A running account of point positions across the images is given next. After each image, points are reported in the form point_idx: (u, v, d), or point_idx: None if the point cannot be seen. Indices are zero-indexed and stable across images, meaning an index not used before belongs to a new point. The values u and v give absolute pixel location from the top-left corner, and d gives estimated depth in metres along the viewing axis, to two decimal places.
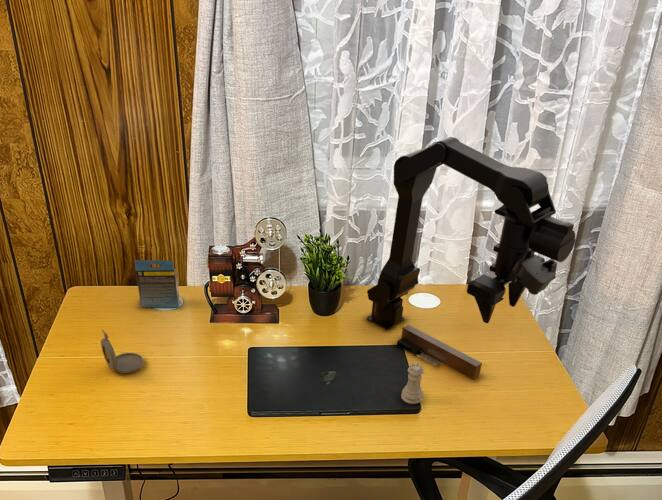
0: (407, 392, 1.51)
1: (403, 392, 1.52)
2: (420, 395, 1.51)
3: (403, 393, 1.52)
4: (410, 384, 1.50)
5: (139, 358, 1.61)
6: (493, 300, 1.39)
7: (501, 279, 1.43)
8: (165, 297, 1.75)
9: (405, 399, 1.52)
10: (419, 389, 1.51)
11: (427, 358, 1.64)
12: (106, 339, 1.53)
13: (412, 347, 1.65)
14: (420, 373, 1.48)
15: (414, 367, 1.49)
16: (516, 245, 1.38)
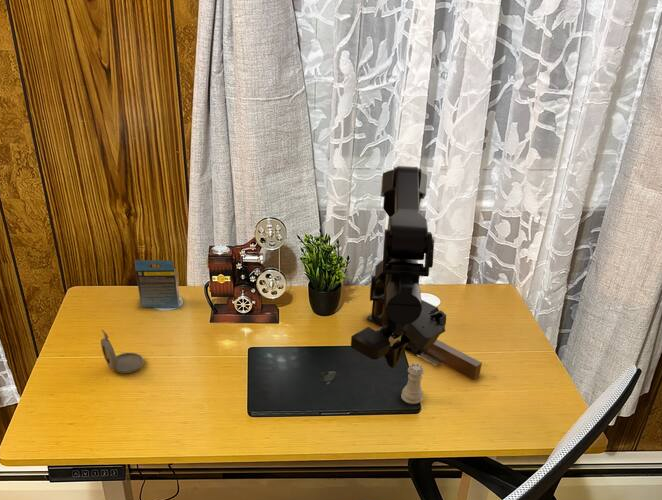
0: (407, 392, 1.51)
1: (403, 392, 1.52)
2: (420, 395, 1.51)
3: (403, 393, 1.52)
4: (410, 384, 1.50)
5: (139, 358, 1.61)
6: (376, 356, 1.30)
7: (388, 332, 1.33)
8: (165, 297, 1.75)
9: (405, 399, 1.52)
10: (419, 389, 1.51)
11: (427, 358, 1.64)
12: (106, 339, 1.53)
13: (412, 347, 1.65)
14: (420, 373, 1.48)
15: (414, 367, 1.49)
16: None
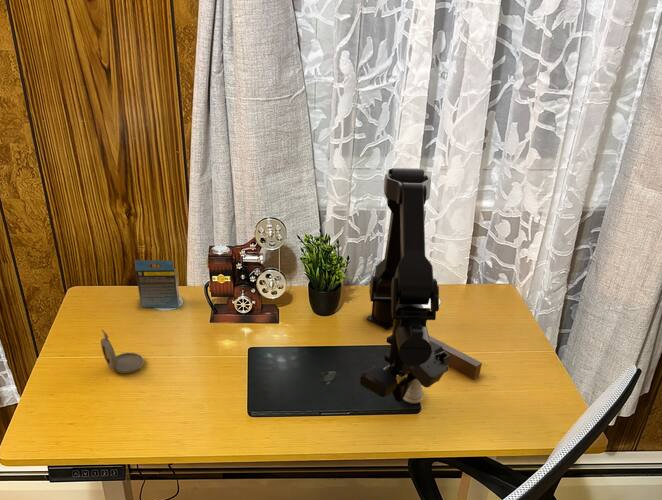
0: (408, 391, 1.51)
1: None
2: (421, 394, 1.51)
3: None
4: (411, 383, 1.50)
5: (139, 358, 1.61)
6: (384, 393, 1.38)
7: (395, 370, 1.42)
8: (165, 297, 1.75)
9: (405, 398, 1.52)
10: (420, 388, 1.51)
11: None
12: (106, 339, 1.53)
13: None
14: None
15: None
16: (396, 335, 1.38)
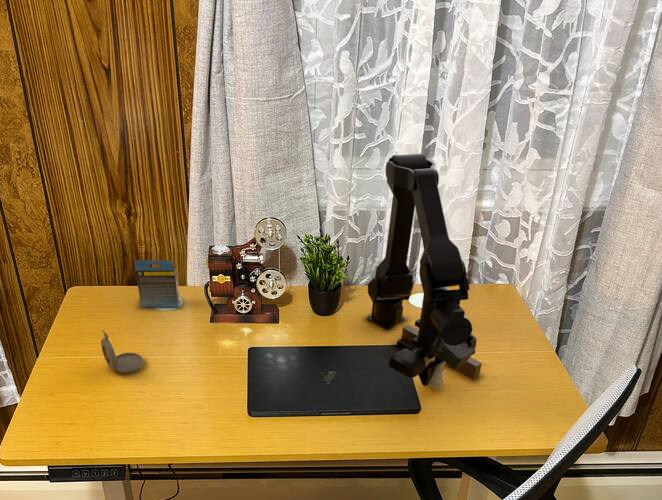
0: None
1: None
2: (441, 380, 1.54)
3: None
4: None
5: (139, 358, 1.61)
6: (412, 374, 1.42)
7: (423, 353, 1.46)
8: (165, 297, 1.75)
9: None
10: (442, 374, 1.54)
11: None
12: (106, 339, 1.53)
13: (412, 347, 1.65)
14: None
15: None
16: (427, 320, 1.42)
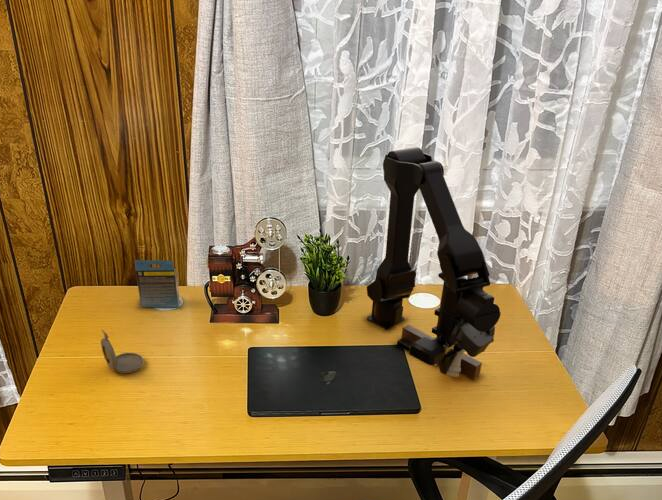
0: None
1: None
2: (459, 369, 1.57)
3: None
4: None
5: (139, 358, 1.61)
6: (433, 362, 1.45)
7: (442, 341, 1.49)
8: (165, 297, 1.75)
9: None
10: (460, 362, 1.57)
11: None
12: (106, 339, 1.53)
13: None
14: None
15: None
16: (450, 309, 1.45)
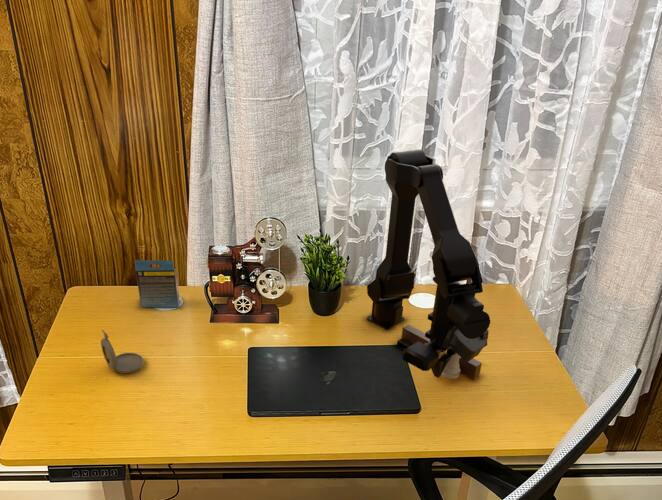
0: (446, 366, 1.57)
1: None
2: (458, 370, 1.57)
3: None
4: None
5: (139, 358, 1.61)
6: (426, 368, 1.45)
7: (436, 346, 1.49)
8: (165, 297, 1.75)
9: (443, 374, 1.58)
10: (457, 364, 1.57)
11: None
12: (106, 339, 1.53)
13: None
14: None
15: None
16: (441, 314, 1.44)
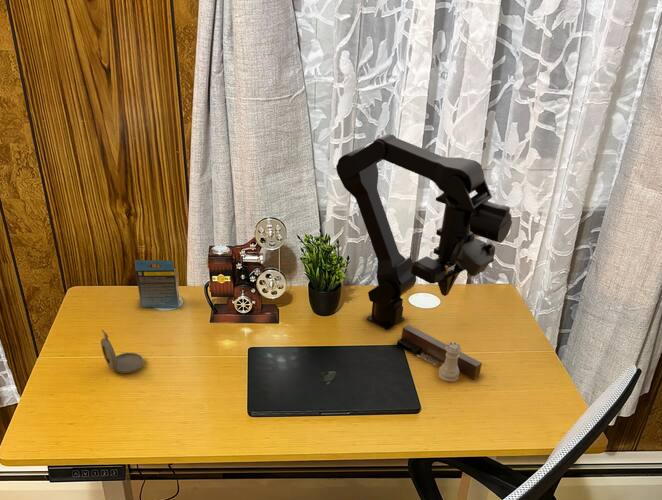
0: (445, 370, 1.57)
1: (440, 370, 1.58)
2: (457, 373, 1.57)
3: (440, 371, 1.58)
4: (447, 362, 1.56)
5: (139, 358, 1.61)
6: (433, 280, 1.50)
7: (443, 261, 1.53)
8: (165, 297, 1.75)
9: (442, 377, 1.58)
10: (456, 367, 1.57)
11: (427, 358, 1.64)
12: (106, 339, 1.53)
13: (412, 347, 1.65)
14: (458, 351, 1.54)
15: (452, 346, 1.54)
16: (458, 229, 1.48)
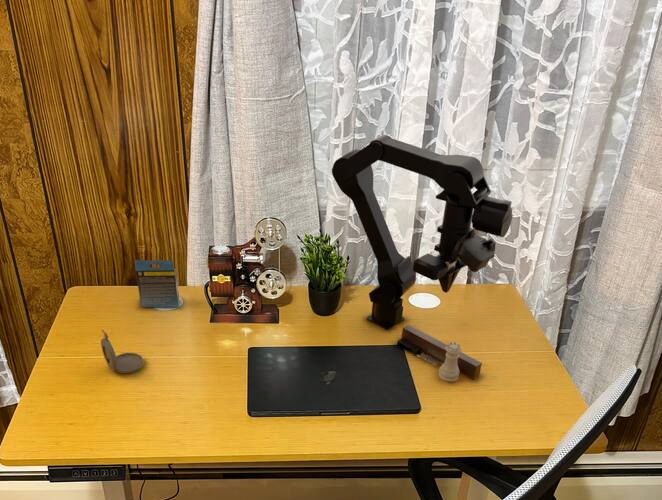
0: (445, 370, 1.57)
1: (440, 370, 1.58)
2: (457, 373, 1.57)
3: (440, 371, 1.58)
4: (447, 362, 1.56)
5: (139, 358, 1.61)
6: (436, 277, 1.51)
7: (444, 258, 1.54)
8: (165, 297, 1.75)
9: (442, 377, 1.58)
10: (456, 367, 1.57)
11: (427, 358, 1.64)
12: (106, 339, 1.53)
13: (412, 347, 1.65)
14: (458, 351, 1.54)
15: (452, 346, 1.54)
16: (460, 226, 1.49)
